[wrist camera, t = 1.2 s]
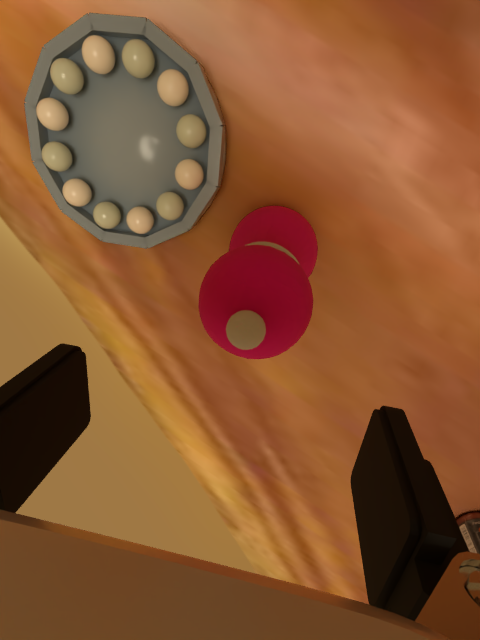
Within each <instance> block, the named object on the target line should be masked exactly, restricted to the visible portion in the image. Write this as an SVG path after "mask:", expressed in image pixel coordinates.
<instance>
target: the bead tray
mask: <svg viewBox="0 0 480 640" xmlns="http://www.w3.org/2000/svg"><path fill="white" fill-rule="evenodd" d="M44 47H45V48H44ZM44 47H42V50H41V53H40V56H39V59H38V62H37V65H36V68H35V71H34V74H33V77H32V80H31V83H30V86H29V89H28V92H27V95H26V98H25V102H26V103H24V105H25V113H26V120H27V128H28V135H29V143H30V150H31V157H32V161H34V162H33V164H34V166H35V168H36V169H37V171H38V173H39V174H40V176H41V178H42V180H43V181H44V183H45V185H46V186H47V188H48V190H49V192H50V193H51V195H52V197H53V199H54V200H55V202H56V204H57V205H58V207H59V209H60V210H62V212H63V213H64V214H66V215H67V216H68V217H70V218H71V219H72V220H74V221H75V222H76V223H78V224H79V225H80V226H82V227H83V228H84V229H86V230H87V231H88V232H90V233H91V234H93V235H94V236H95V237H97V238H98V239H99V240H101V241H102V240H103V242H109V243H115V244H121V245H128V246H134V247H140V248H146V249H147V248H150V247H153V246H155V245H157V244H159V243H162V242H164V241H166V240H169V239H171V238H173V237H175V236H178V235H180V234H182V233H185V232H187V231H189V230H191V229H192V228H193V227H194V226H195V225H196V223H197V222H198V220H199V219H200V218H201V217H202V216H203V214H204V213H205V212H206V211H207V209H208V208H209V207H210V205H211V203H212V202H213V200H214V198H215V196H216V194H217V192H218V190H219V188H220V185H221V181H222V177H223V174H224V169H225V162H226V146H227V143H226V128H225V123H224V120H223V115H222V111H221V108H220V105H219V102H218V99H217V97H216V95H215V92H214V90H213V88H212V86H211V84H210V82H209V81H208V79H207V77H206V74H205V72H204V69H203V67H202V66H201V64H200V63H199V62H198V61H197V60H195V59H194V58H193V57H192V56H191V55H190V54H188V53H187V52H186V51H185V50H184V49H183V48H181V47H180V46H179V45H178V44H177V43H176V42H174V41H173V40H172V39H171V38H170V37H169V36H167V35H166V34H165V33H164V32H163V31H162V30H160V29H159V28H158V27H157V26H156V25H155V24H153V23H152V22H151V21H150V20H149V19H147V18H143V17H131V16H120V15H109V14H97V13H89V14H88V13H87V14H86V15H84V16H83V17H82V18H80V19H79V20H77V21H76V22H75V23H73V24H72V25H71V26H69V27H68V28H67V29H65V30H64V31H62V32H61V33H60V34H58V35H57V36H56V37H54V38H53V39H52V40H50V41H49V42H48V43H46V44H45V45H44Z"/></svg>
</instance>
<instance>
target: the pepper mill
mask: <svg viewBox="0 0 480 640" xmlns="http://www.w3.org/2000/svg"><path fill="white" fill-rule="evenodd" d="M317 251H318V246H317V239H316V236H315V233H314V231H313V229H312V227H311V225H310V224H309V222H308V221H307V220H306V219H305V218H304V217H303V216H302V215H300V214H299V213H298V212H296V211H294V210H292V209H289V208H286V207H282V206H267V207H262V208H259V209H256V210H254V211H253V212H251V213H249V214H248V215H247V216H246V217H244V218H243V219H242V220H241V222H240V223H239V224H238V226H237V227H236V229H235V231H234V233H233V235H232V238H231V242H230V247H229V252H227V253H226V254H224V255H223V256H221V257H220V258H219V259H218V260H217V261H215V262H214V264H213V265H212V266H211V267H210V268H209V270H208V272H207V273H206V275H205V277H204V280H203V282H202V285H201V288H200V294H199V312H200V317H201V320H202V323H203V325H204V328H205V330H206V331H207V333H208V334H209V336H210V337H211V338H212V340H213V341H214V342H215V343H217V344H218V345H219V346H220V347H221V348H223V349H225V350H226V351H228V352H230V353H232V354H234V355H237V356H240V357H244V358H247V359H264V358H270V357H273V356H276V355H279V354H281V353H283V352H284V351H286V350H288V349H289V348H290V347H291V346H293V345H294V344H295V343H296V342H297V341H298V340H299V339H300V337H301V336H302V335H303V334H304V332H305V330H306V328H307V326H308V324H309V322H310V318H311V315H312V308H313V295H312V289H311V285H310V283H309V280H308V277H309V276H310V274H311V273H312V271H313V268H314V266H315V263H316V259H317Z"/></svg>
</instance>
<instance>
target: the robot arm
mask: <svg viewBox="0 0 480 640" xmlns="http://www.w3.org/2000/svg"><path fill="white" fill-rule="evenodd" d="M90 417H91V414H90V402H89V391H88V377H87V365H86V355H85V353H84V352H82V350H81V348H80V347H78V346H73V345H67V344H60V345H58V346H56V347H55V348H54V349H52V350H51V351H49V352H48V353H47V354H45V355H44V356H42V357H41V358H40V359H38V360H37V361H36V362H34V363H33V364H32V365H30V366H29V367H27V368H26V369H24V370H23V371H22V372H21V373H19V374H18V375H16V376H15V377H13V378H12V379H11V380H9V381H8V382H7V383H5V384H4V385H2V386H1V387H0V640H480V554H478V553H472V552H470V551H469V549H468V547H467V544H466V542H465V540H464V537H463V535H462V533H461V531H460V528H459V526H458V524H457V521H456V519H455V517H454V514H453V512H452V510H451V507H450V505H449V503H448V501H447V498H446V496H445V494H444V491H443V489H442V487H441V484H440V482H439V480H438V478H437V475H436V473H435V471H434V468H433V466H432V465H431V463H430V462H429V461H428V460H424V458H423V456H422V453H421V451H420V449H419V446H418V444H417V441H416V439H415V436H414V434H413V432H412V429H411V427H410V424H409V422H408V420H407V417H406V415H405V412H404V411H403V410H402V409H398V408H393V407H388V406H382V407H381V408H380V410H378V409H375V410H374V411H373V413H372V416H371V419H370V422H369V425H368V428H367V431H366V433H365V436H364V439H363V442H362V445H361V448H360V451H359V454H358V456H357V459H356V462H355V465H354V468H353V471H352V474H351V489H352V495H353V502H354V509H355V515H356V522H357V529H358V535H359V542H360V549H361V555H362V562H363V569H364V575H365V582H366V588H367V595H368V601H369V604H370V605H368V604H365V603H362V602H359V601H355V600H351V599H348V598H344V597H341V596H337V595H333V594H330V593H326V592H323V591H319V590H315V589H312V588H308V587H305V586H301V585H297V584H293V583H290V582H286V581H282V580H278V579H274V578H270V577H266V576H262V575H259V574H255V573H251V572H247V571H243V570H239V569H235V568H231V567H228V566H224V565H220V564H216V563H212V562H208V561H204V560H200V559H196V558H193V557H189V556H184V555H180V554H176V553H173V552H169V551H165V550H161V549H157V548H153V547H149V546H145V545H141V544H137V543H133V542H129V541H125V540H121V539H117V538H113V537H109V536H105V535H101V534H97V533H93V532H89V531H85V530H81V529H77V528H73V527H69V526H65V525H61V524H57V523H52V522H49V521H44V520H40V519H36V518H32V517H28V516H24V515H20V514H16V513H15V512H16V511H17V510H18V509H19V508H20V507H21V505H22V504H23V503H24V502H25V501H26V500H27V498H28V497H29V496H30V495H31V494H32V492H33V491H34V490H35V489H36V488H37V486H38V485H39V484H40V483H41V482H42V480H43V479H44V478H45V477H46V475H47V474H48V473H49V472H50V471H51V470H52V468H53V467H54V466H55V465H56V464H57V462H58V461H59V460H60V459H61V458H62V456H63V455H64V454H65V453H66V452H67V450H68V449H69V448H70V447H71V446H72V444H73V443H74V442H75V441H76V440H77V438H78V437H79V436H80V435H81V433H82V432H83V431H84V430H85V428H86V427H87V426H88V424H89V422H90Z"/></svg>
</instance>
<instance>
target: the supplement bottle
mask: <svg viewBox="0 0 480 640" xmlns="http://www.w3.org/2000/svg"><path fill="white" fill-rule="evenodd" d="M456 521H457V524H458V526H459V528H460V531H461V533H462V535H463V537H464V540H465V542H466V544H467V547H468V549H469V551H470V552H472V553H478V554H480V512H474V513H468V514H466V515H463V516H461V517H460V518H458V519H457V520H456Z"/></svg>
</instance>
